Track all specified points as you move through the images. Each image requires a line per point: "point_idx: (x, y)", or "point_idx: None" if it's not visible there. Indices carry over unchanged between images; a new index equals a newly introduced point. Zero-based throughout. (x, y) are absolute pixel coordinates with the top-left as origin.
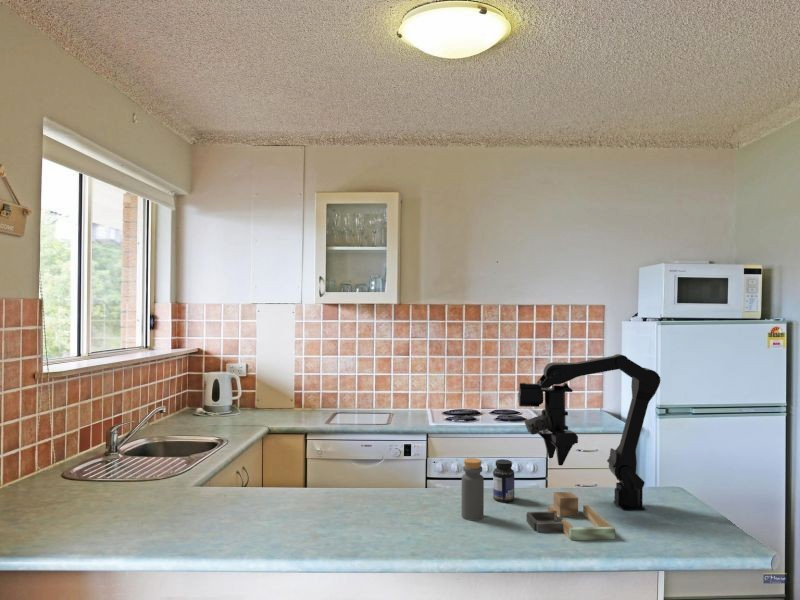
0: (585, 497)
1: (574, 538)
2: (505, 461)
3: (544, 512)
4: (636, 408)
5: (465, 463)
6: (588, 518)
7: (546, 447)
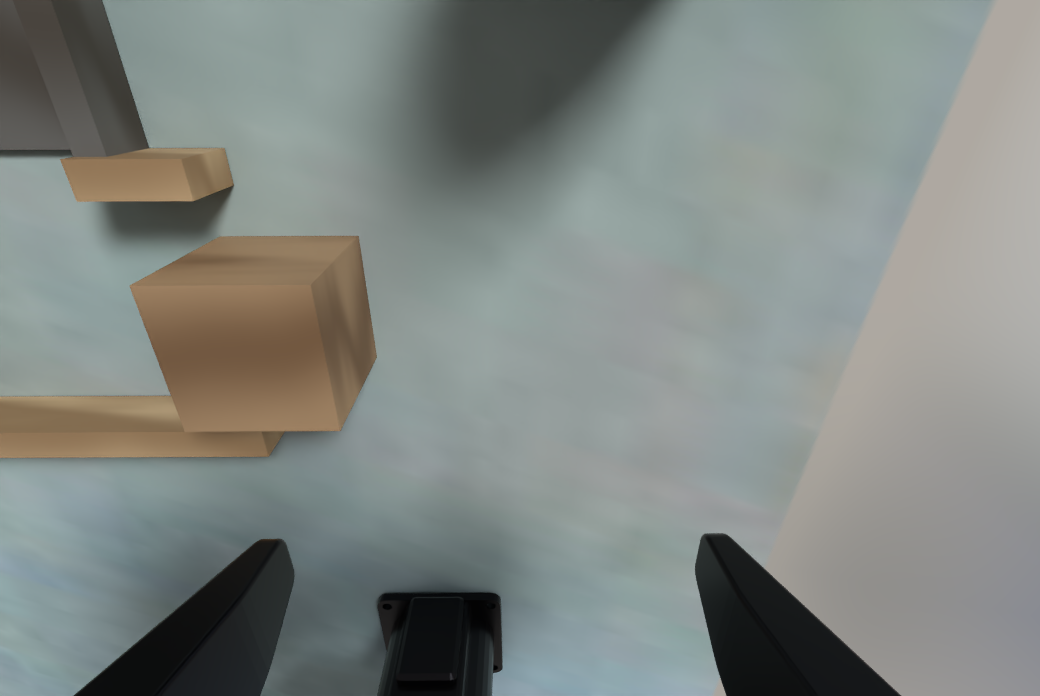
0: (600, 505)
1: None
2: None
3: (53, 79)
4: None
5: None
6: None
7: (848, 688)
